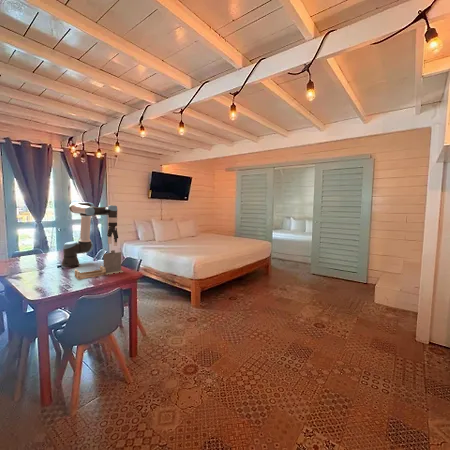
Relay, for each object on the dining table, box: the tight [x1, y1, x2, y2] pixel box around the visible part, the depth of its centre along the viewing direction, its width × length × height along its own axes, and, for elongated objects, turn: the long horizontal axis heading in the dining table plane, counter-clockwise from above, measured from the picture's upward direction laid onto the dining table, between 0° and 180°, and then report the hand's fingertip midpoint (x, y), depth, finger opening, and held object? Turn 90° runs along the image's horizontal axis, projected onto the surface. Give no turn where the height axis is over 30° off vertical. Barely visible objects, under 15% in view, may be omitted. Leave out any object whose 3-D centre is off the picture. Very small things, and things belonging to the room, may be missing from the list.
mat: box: [106, 269, 124, 275], centre depth 225 cm, size 12×15×1 cm
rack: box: [74, 265, 106, 280], centre depth 212 cm, size 10×22×6 cm, turn 135°
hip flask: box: [103, 249, 122, 273], centre depth 225 cm, size 16×4×20 cm, turn 136°
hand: (112, 244), depth 223 cm, fingers open, 13 cm apart
